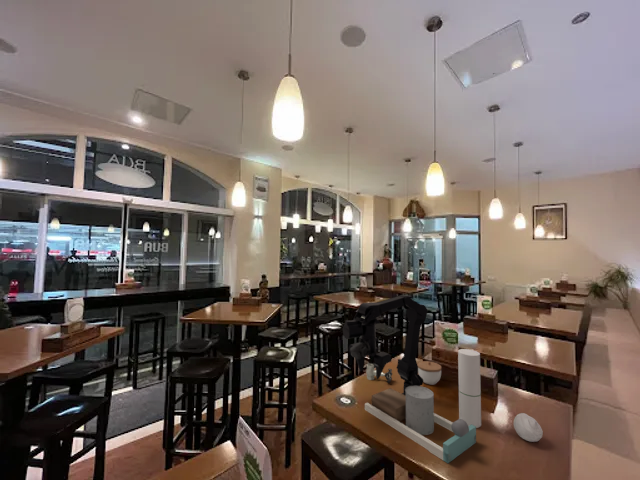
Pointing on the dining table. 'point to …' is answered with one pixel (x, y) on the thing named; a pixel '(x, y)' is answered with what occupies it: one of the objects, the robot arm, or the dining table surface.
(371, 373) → the valve
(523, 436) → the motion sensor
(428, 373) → the lidded jar
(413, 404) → the grey concrete cylinder
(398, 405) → the carriage
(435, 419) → the bay
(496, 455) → the dining table surface
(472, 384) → the cylindrical container
